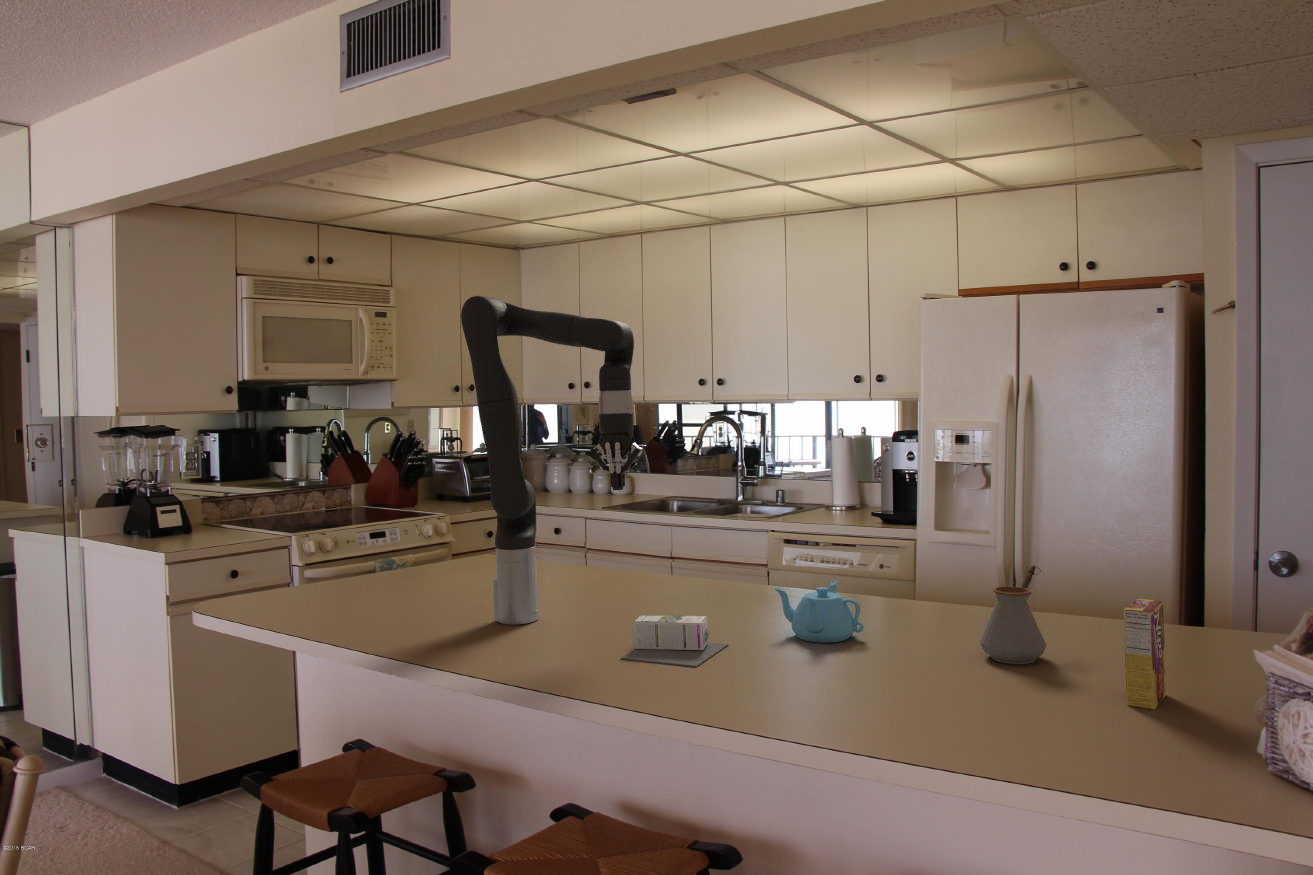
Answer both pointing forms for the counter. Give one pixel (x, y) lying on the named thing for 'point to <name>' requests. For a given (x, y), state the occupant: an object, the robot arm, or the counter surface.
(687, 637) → the syrup box
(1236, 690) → the counter surface
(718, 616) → the counter surface
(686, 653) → the mat
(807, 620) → the teapot
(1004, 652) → the coffee pot
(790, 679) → the counter surface
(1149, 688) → the candy box
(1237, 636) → the counter surface
